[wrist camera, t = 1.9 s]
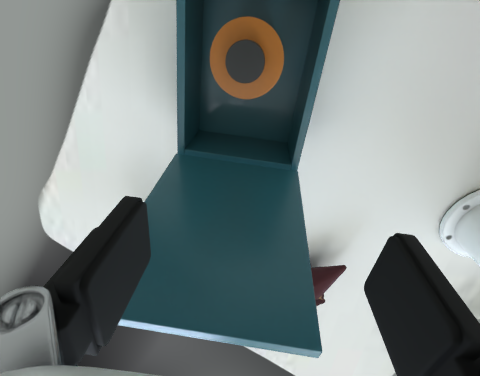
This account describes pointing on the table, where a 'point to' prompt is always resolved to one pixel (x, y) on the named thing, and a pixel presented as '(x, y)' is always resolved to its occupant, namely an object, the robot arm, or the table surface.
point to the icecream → (324, 280)
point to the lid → (228, 258)
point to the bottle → (246, 57)
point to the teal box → (258, 109)
